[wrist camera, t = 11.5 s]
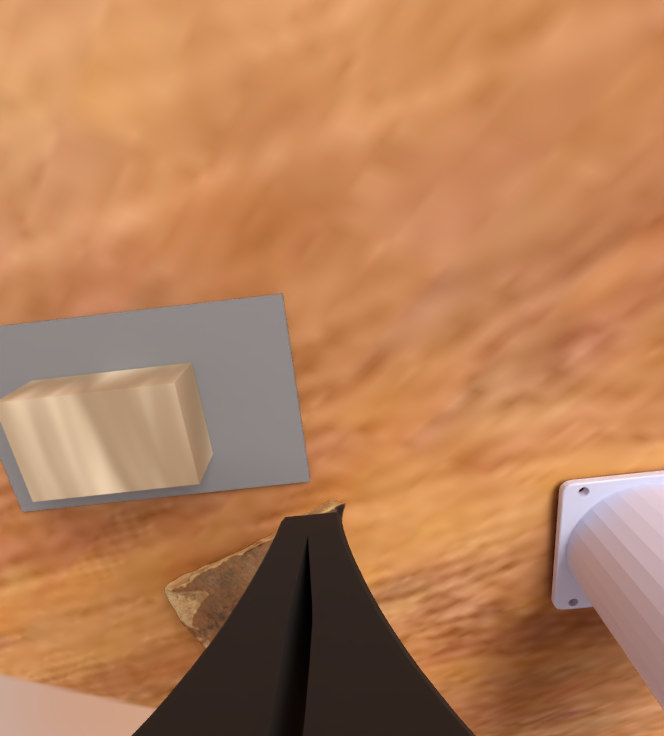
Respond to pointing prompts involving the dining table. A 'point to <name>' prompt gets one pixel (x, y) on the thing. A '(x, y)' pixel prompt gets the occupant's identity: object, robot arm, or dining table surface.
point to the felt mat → (213, 376)
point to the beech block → (108, 432)
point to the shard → (223, 584)
